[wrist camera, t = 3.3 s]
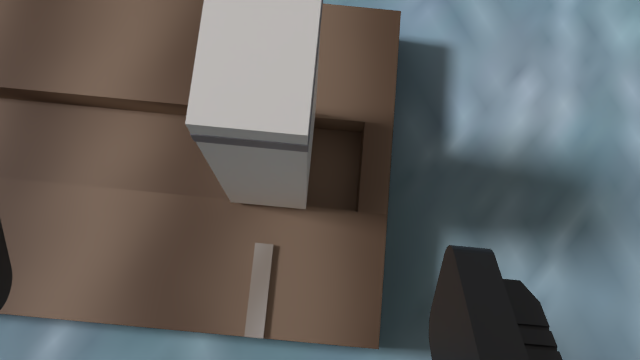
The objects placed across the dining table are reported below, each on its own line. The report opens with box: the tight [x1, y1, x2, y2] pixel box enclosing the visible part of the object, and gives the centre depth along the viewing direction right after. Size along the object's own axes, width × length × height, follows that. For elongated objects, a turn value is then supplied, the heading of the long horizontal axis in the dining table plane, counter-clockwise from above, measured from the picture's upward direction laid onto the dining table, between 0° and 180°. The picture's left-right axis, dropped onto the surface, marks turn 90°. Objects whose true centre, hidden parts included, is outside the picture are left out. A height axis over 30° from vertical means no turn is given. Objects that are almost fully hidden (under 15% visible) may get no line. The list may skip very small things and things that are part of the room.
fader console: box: [0, 0, 401, 349], centre depth 22 cm, size 25×12×2 cm, turn 85°
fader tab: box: [185, 0, 323, 209], centre depth 17 cm, size 2×4×9 cm
